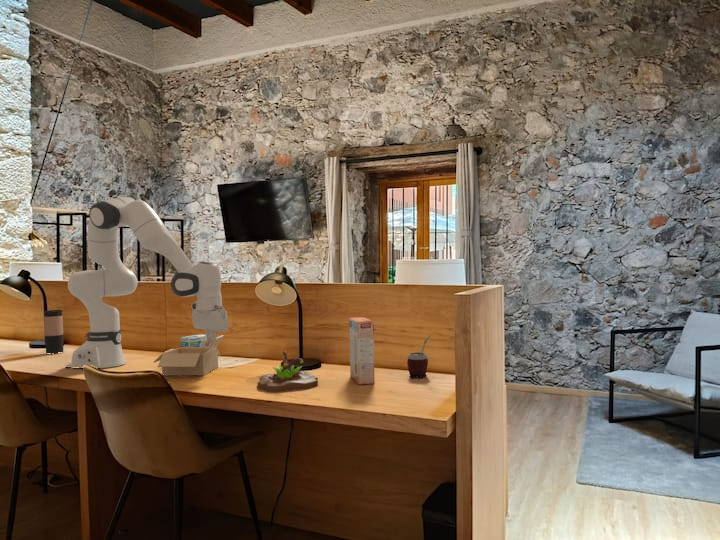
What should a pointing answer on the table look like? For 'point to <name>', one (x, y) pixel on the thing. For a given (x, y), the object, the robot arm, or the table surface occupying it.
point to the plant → (287, 378)
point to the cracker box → (362, 350)
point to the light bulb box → (194, 341)
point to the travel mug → (53, 331)
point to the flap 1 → (179, 360)
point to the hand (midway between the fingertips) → (211, 341)
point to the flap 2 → (215, 343)
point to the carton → (203, 365)
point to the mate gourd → (418, 363)
